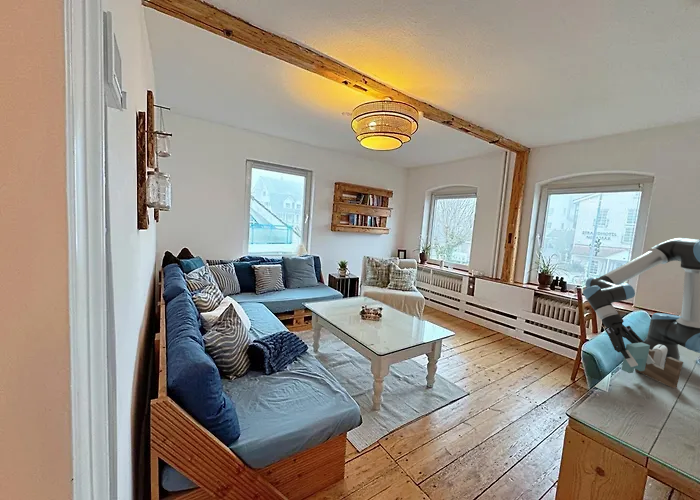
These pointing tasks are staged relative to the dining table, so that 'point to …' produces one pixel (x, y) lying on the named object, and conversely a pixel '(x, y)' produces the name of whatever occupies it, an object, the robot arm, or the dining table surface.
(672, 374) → the walnut slotted board
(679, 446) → the dining table surface
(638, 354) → the teal slotted plate
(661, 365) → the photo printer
